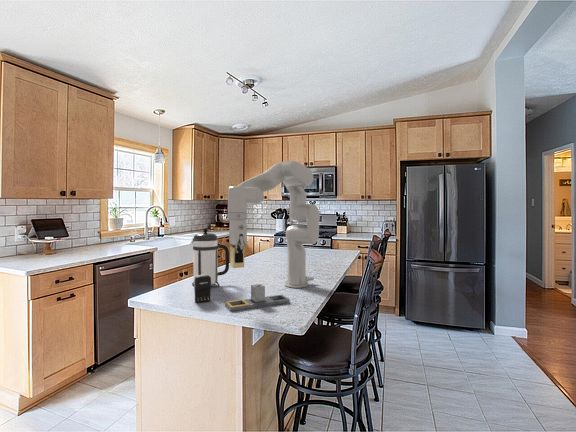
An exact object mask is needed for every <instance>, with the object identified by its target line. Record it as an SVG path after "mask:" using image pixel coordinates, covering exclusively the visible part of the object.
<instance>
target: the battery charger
mask: <svg viewBox="0 0 576 432" xmlns="http://www.w3.org/2000/svg"><path fill="white" fill-rule="evenodd" d="M193 282H194V286H193V291H194V302H195V303H206V302H210V301H211V292H212V291H211V287H212V285H211V277H210V276H209V275H198V276H196V277H195V279H194V278H193Z"/></svg>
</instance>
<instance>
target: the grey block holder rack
mask: <svg viewBox="0 0 576 432" xmlns="http://www.w3.org/2000/svg"><path fill="white" fill-rule="evenodd" d="M290 301H291V299H290V298H288V297H287V296H286V295H283V294H276V295H269V296H265V302H261V303H253V302H251V298H245V299H244V298H243V299H237V300H229V301H225V302H224V307H226V308H227V310H228V311H229V312H238V311H244V310H251V309H258V308H265V307H272V306H279V305H285V304H286V305H287V304H290V303H291V302H290Z"/></svg>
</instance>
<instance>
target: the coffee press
mask: <svg viewBox="0 0 576 432" xmlns="http://www.w3.org/2000/svg"><path fill="white" fill-rule="evenodd" d="M208 230H209V229H208V228H207V227H204V228H203V232H201V233H197V234H195V235H193V238H192V239H191V242H190V243H189V245H191V246H192V245H193V246H192V250H193V256H192V257H193V280H194V279H195V277H196V276H198V275H209V276H210V277H211V286H214V287H215V288H220V284H219V281H218V277H219V276H223V275H226V274H227V273H228V271H229V269H230V249H229V248H228V246H226V245H223V244H218V242H219V237H218V236H217V234H216V233H212V232H208ZM218 249H223V250H224V253H225V255H224V256H225V267H224V269H223V270H222V271H219V269H218V261H219V260H218V255H219V254H218V251H219V250H218ZM191 284H192V286H193V287H194V281H193V282H192V283H191Z"/></svg>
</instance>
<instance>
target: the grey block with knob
mask: <svg viewBox="0 0 576 432" xmlns="http://www.w3.org/2000/svg"><path fill="white" fill-rule="evenodd" d="M265 297H266V286H265V285H263V284H262V283H259V284H251V285H250V299H251V302H253V303H261V302H265Z"/></svg>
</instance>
